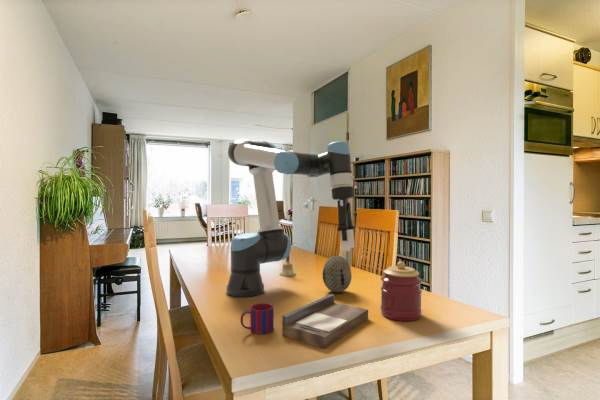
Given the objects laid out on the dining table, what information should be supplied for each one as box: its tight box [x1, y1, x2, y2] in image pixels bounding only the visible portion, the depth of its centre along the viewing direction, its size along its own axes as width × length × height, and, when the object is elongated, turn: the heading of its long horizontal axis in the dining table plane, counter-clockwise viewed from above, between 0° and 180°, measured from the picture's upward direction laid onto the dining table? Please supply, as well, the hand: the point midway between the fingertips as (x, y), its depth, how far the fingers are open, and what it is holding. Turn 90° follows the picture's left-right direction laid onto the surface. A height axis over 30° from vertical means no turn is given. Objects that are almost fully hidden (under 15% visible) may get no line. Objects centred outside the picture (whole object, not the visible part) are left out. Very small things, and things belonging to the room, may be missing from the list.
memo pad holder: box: [281, 293, 369, 349], centre depth 101 cm, size 14×26×6 cm, turn 144°
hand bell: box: [279, 252, 297, 277], centre depth 168 cm, size 8×8×16 cm
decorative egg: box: [322, 254, 352, 293], centre depth 137 cm, size 12×12×15 cm
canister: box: [380, 260, 423, 322], centre depth 111 cm, size 13×13×18 cm
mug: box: [240, 302, 275, 335], centre depth 98 cm, size 7×10×7 cm
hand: (348, 249), depth 114 cm, fingers open, 13 cm apart
